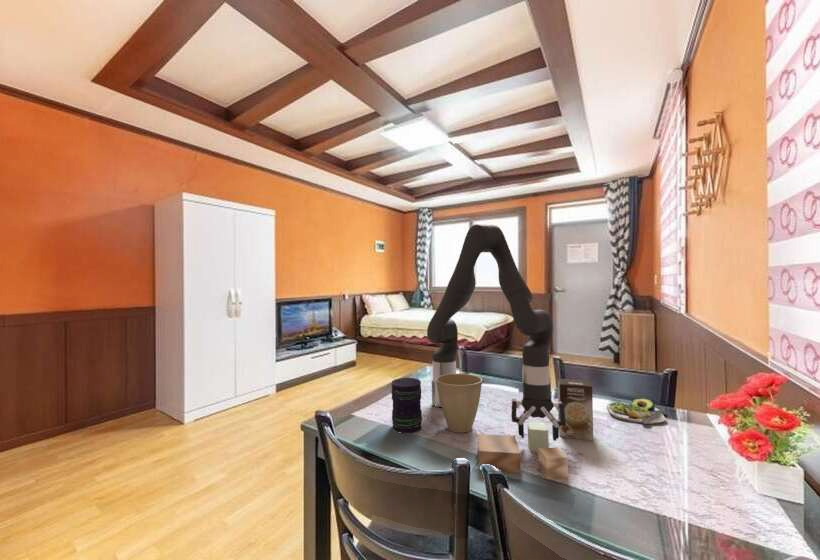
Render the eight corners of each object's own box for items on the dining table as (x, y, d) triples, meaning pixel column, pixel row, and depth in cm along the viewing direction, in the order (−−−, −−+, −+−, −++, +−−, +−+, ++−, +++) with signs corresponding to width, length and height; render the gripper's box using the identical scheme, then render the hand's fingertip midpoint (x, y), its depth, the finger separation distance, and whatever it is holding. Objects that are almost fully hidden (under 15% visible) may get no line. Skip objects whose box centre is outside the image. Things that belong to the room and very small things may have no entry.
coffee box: (560, 437, 102) (558, 383, 102) (558, 428, 108) (556, 378, 108) (594, 441, 99) (592, 386, 99) (590, 432, 105) (588, 380, 105)
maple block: (547, 479, 80) (546, 458, 80) (539, 468, 85) (538, 448, 85) (568, 478, 80) (567, 457, 80) (558, 467, 85) (558, 447, 85)
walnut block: (479, 471, 85) (478, 451, 85) (478, 452, 94) (477, 433, 95) (521, 474, 83) (520, 453, 83) (515, 454, 93) (514, 435, 93)
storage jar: (426, 424, 114) (425, 379, 114) (414, 436, 105) (413, 387, 105) (400, 419, 118) (399, 376, 118) (386, 430, 109) (385, 384, 109)
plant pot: (492, 427, 110) (491, 378, 110) (464, 442, 100) (463, 388, 100) (455, 415, 121) (454, 370, 121) (427, 428, 110) (426, 379, 111)
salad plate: (676, 432, 104) (676, 417, 104) (609, 423, 112) (609, 409, 112) (663, 411, 122) (662, 398, 122) (606, 404, 130) (605, 392, 130)
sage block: (529, 451, 94) (529, 429, 94) (528, 443, 99) (527, 422, 99) (548, 452, 93) (548, 430, 93) (546, 444, 98) (545, 423, 98)
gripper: (510, 382, 94) (512, 441, 94) (566, 385, 91) (568, 446, 90) (509, 376, 101) (511, 430, 101) (560, 378, 98) (563, 434, 97)
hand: (538, 438), depth 96 cm, fingers open, 8 cm apart
